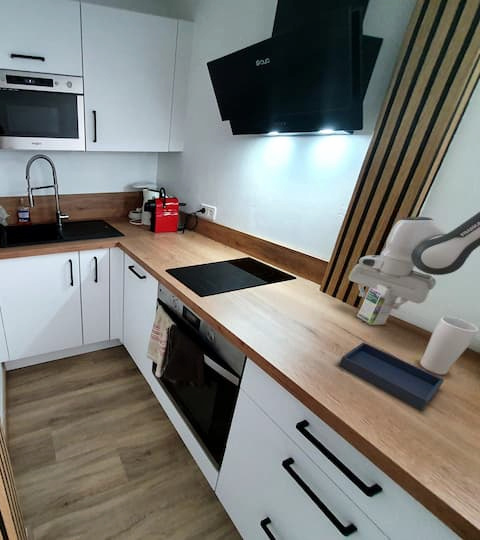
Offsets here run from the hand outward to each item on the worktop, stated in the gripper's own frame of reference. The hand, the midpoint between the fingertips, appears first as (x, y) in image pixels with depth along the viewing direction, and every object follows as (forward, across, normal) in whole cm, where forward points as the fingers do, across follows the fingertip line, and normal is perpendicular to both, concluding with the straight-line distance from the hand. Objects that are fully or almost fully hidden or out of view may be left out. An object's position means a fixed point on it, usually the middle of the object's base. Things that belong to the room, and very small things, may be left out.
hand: (377, 302), depth 99 cm
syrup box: (+8, 0, 0) cm, 8 cm away
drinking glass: (+8, -20, +14) cm, 25 cm away
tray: (+8, -14, +30) cm, 34 cm away
